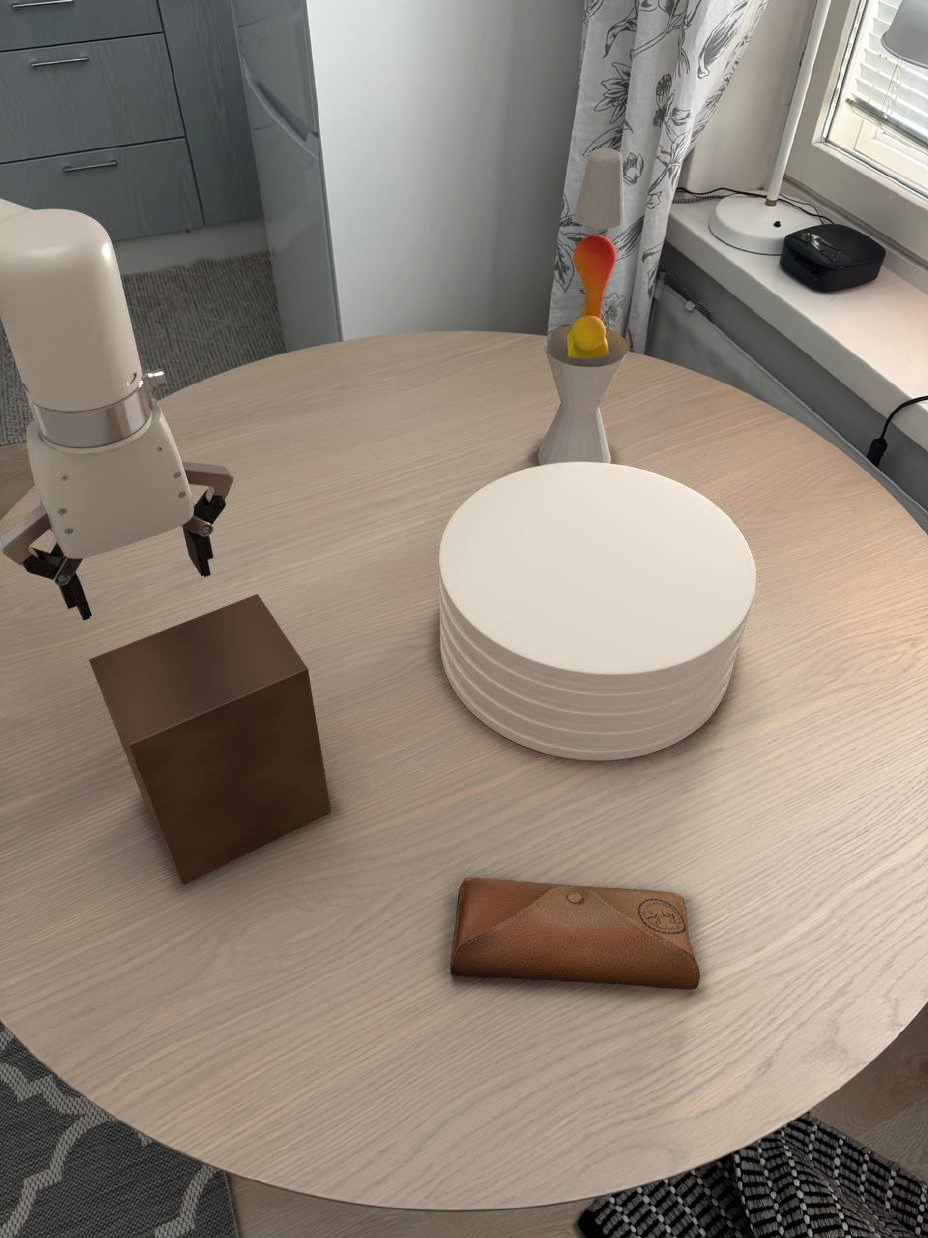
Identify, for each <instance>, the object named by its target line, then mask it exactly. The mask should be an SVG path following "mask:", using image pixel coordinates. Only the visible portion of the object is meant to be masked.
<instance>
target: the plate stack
mask: <svg viewBox="0 0 928 1238" xmlns="http://www.w3.org/2000/svg"><path fill="white" fill-rule="evenodd" d="M438 572H439V573H438V575H439V577H438V583H439V584H438V585H439V632H440V633H439V643H440V644H439V647H440V649H439V650H440V657H441V663H442V667H443V670H444V673H445V676H446V677H447V680H448V682H449V684H450V686H451V688H452V690H453V691H454V693H455V694H456V696H457V697H458V699H459V700H460V701H461V702H462V704H463V705H464V706H465V707H466V708H467V709H468V711H469V712H470V713H472V714H473V716H475V717H476V718H477V719H478V720H479V721H480V722H482V723H483V724H485V725H486V726H487V727H488V728H490V729H491V730H493V731H495V732H496V733H497V734H500V735H501V736H502V737H504V738H506V739H507V740H509V741H512V742H514V743H516V744H518V745H520V746H523V747H524V748H528V749H530V750H534V751H535V752H540V753H542V754H546V755H549V756H553V757H558V758H565V759H571V760H578V761H595V762H596V761H599V762H600V761H602V762H603V761H617V760H618V761H619V760H626V759H632V758H638V757H642V756H645V755H649V754H653V753H656V752H659V751H661V750H664V749H666V748H668V747H671V746H674V745H675V744H677V743H679V742H681V741H683V740H684V739H686V738H687V737H689V736H690V735H692V734H693V733H695V732H696V731H697V730H698V729H699V728H701V727H702V726H703V725H705V723H706V722H707V721H708V720H709V719H710V717H712V715H713V714H714V712H715V711H716V710H717V709H718V708H719V706H720V704H721V702H722V701H723V699H724V696H725V694H726V692H727V688H728V686H729V682H730V679H731V675H732V671H733V668H734V666H735V663H736V658H737V655H738V652H739V649H740V646H741V642H742V638H743V634H744V632H745V629H746V625H747V622H748V619H749V614H750V612H751V609H752V606H753V602H754V598H755V594H756V589H757V569H756V564H755V560H754V556H753V553H752V551H751V548H750V546H749V544H748V542H747V540H746V539H745V537H744V535H743V534H742V532H741V531H740V529H739V528H738V527H737V525H736V524H735V523H734V522H733V520H732V519H731V518H730V517H729V516H728V515H727V514H726V513H725V512H724V511H723V510H722V509H721V508H719V507H718V506H717V505H715V504H714V503H713V502H712V501H710V500H709V499H708V498H707V497H705V496H703V495H702V494H700V493H699V492H698V491H695V490H694V489H691V487H689V486H686V485H684V484H682V483H680V482H678V481H675V480H674V479H671V478H668V477H666V476H663V475H661V474H658V473H655V472H653V471H649V470H644V469H641V468H637V467H632V466H627V465H621V464H616V463H615V464H614V463H610V464H609V463H597V462H567V463H556V464H548V465H542V466H541V465H538V466H533V467H529V468H525V469H521V470H518V471H516V472H515V471H514V472H512V473H510V474H507V475H505V476H502V477H500V478H498V479H496V480H493V481H491V482H490V483H488V484H487V485H485V486H483V487H482V488H480V489H479V490H477V491H476V492H474V493H473V494H472V495H470V496H469V497H468V498H467V499H466V500H465V501H464V502H463V503H461V505H460V506H459V507H458V508H457V509H456V511H455V512H454V513H453V515H452V516H451V517H450V519H449V521H448V522H447V524H446V527H445V529H444V531H443V534H442V536H441V540H440V544H439V551H438Z"/></svg>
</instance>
